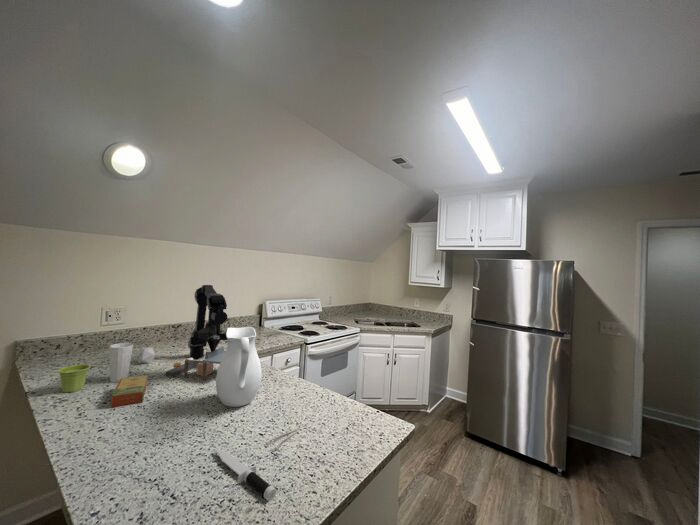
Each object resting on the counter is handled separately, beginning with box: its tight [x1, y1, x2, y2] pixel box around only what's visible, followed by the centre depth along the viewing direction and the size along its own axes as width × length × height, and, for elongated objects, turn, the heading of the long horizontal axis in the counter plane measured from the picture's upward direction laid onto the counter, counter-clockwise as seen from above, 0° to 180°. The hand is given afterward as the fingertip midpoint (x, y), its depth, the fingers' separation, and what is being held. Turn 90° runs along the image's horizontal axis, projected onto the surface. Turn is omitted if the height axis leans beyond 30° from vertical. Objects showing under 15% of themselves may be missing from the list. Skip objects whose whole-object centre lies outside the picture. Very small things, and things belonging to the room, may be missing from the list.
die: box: [134, 346, 156, 365], centre depth 148 cm, size 8×9×10 cm
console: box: [165, 362, 200, 378], centre depth 139 cm, size 5×16×2 cm, turn 169°
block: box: [196, 362, 215, 377], centre depth 137 cm, size 5×5×5 cm
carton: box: [109, 375, 148, 409], centre depth 110 cm, size 10×18×5 cm, turn 32°
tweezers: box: [264, 427, 302, 452], centre depth 88 cm, size 18×5×2 cm, turn 147°
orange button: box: [173, 362, 182, 368], centre depth 135 cm, size 3×3×1 cm
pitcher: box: [215, 326, 263, 408], centre depth 107 cm, size 24×17×28 cm
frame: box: [183, 351, 210, 381], centre depth 137 cm, size 11×15×8 cm
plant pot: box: [57, 364, 91, 394], centre depth 113 cm, size 9×9×9 cm
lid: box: [202, 346, 226, 365], centre depth 135 cm, size 11×16×3 cm
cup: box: [108, 342, 134, 383], centre depth 125 cm, size 8×8×16 cm
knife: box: [213, 448, 277, 502], centre depth 71 cm, size 26×2×5 cm
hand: (212, 352), depth 136 cm, fingers closed
